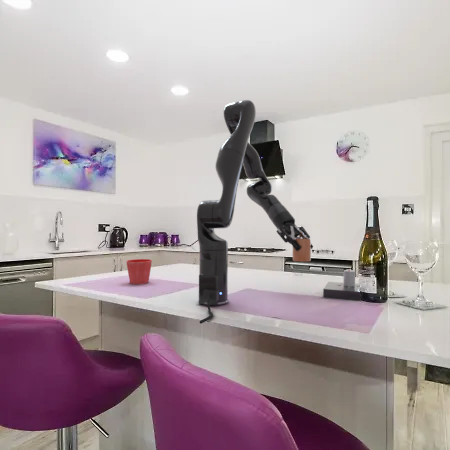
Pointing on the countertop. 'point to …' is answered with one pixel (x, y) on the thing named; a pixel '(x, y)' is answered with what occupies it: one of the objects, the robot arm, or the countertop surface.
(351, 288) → the stove
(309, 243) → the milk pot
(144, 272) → the flower pot
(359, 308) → the countertop surface
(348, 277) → the stove knob
